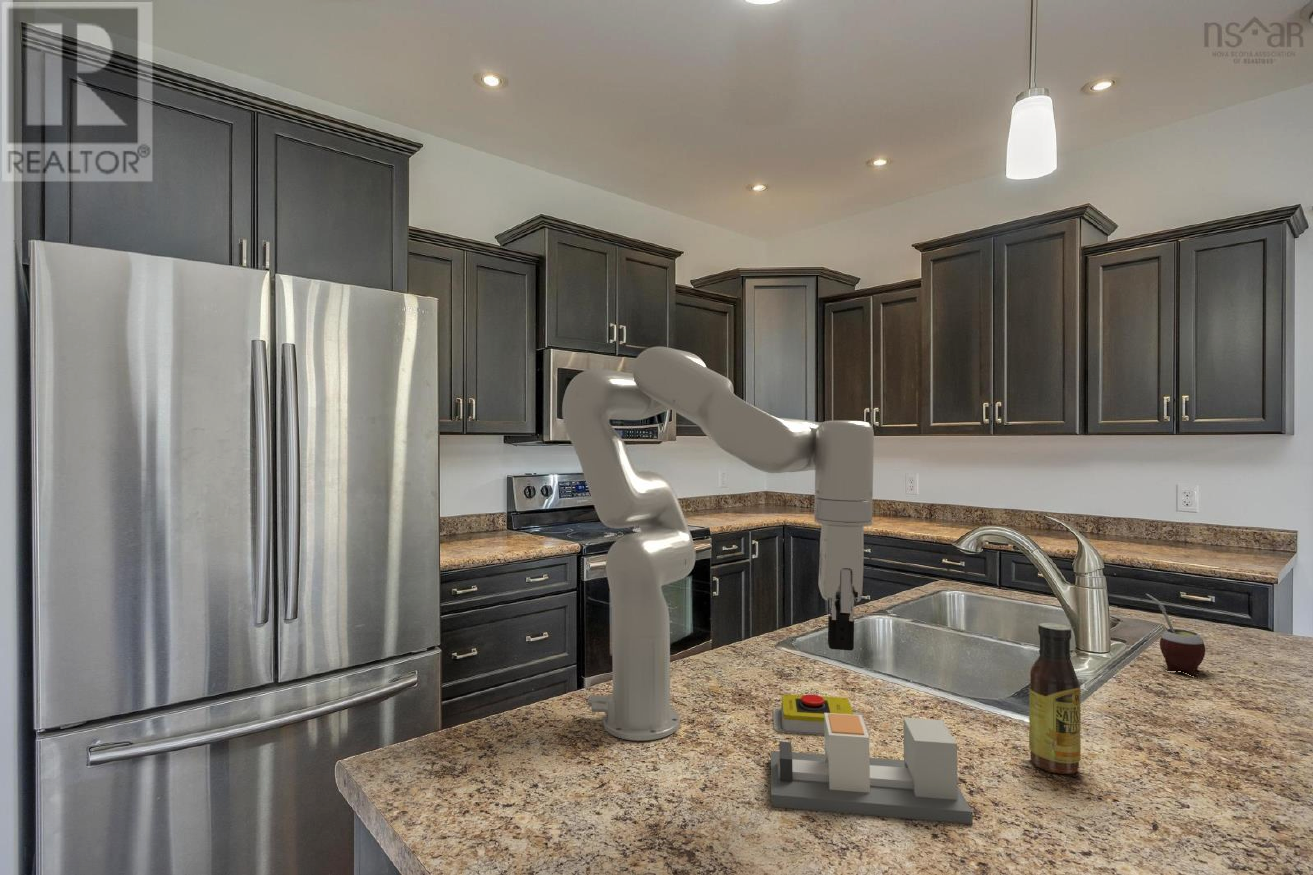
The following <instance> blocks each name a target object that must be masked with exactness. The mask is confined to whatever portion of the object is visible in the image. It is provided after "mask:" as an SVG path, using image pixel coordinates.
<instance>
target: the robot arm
mask: <svg viewBox="0 0 1313 875" xmlns="http://www.w3.org/2000/svg"><path fill="white" fill-rule="evenodd" d="M631 372H632V373H631ZM631 372H625V371H624V372H623V371H619V370H614V369H613V370H612V369H604V368H603V369H602V368H601V369H600V368H595V369H589V370H583V371H581V372H580V373H578V374H577V375H575V376H574V377H573V378H572V379H571V380H570V382H569V384H568V385H567V387H566V389H565V391H564V392H565V393H564V395H563V400H562V404H561V405H562V407H561V409H562V410H561V411H562V412H561V413H562V414H561V415H562V420H563V424H564V429H565V430H566V433H567V436H568V438H569V441H570V442H571V444H572V447H573V449H574V452H575V453H576V455H577V458H578V460H579V464H580V466H581V470H582V474H583V476H584V480H585V482H586V485H587V489H588V491H589V494H590V496H591V497H590V498H591V500H592V502H593V503H592V504H593V507H594V509H595V512H596V514H597V516H598V518H599V520H600V522H602V524H603V525H604V526H606V527H608V528H611V529H627V528H633V527H634V528H635V527H639V529H640V531H638V532H633V533H630V534H627V535H625V536H622V537H620V538H618V539H617V540H616V541H615V542H614V543H613V544H612V545H611V546H610V548H609V549H608V551H607V555H606V558H605V572H606V576H607V577H606V578H607V582H608V587H609V593H610V594H609V595H610V599H611V600H610V601H611V602H610V604H611V629H612V630H611V632H612V638H611V639H612V640H611V641H612V650H611V651H612V693H608V694H607V695H606V696H605V695H599V694H589V696H588V700H587V703H588V704H587V706H588V707H591V708H590V709H591V712H593V713H600V712H601V713H604V714H605V715H603V728H604V730H605V731H606V732H607V733H608V734H610V735H611V736H613V737H616V738H619V739H620V740H621V739H622V740H627V741H636V742H641V741H643V742H645V741H654V740H659V739H662V738H666V737H668V736H670V735H672V734H674V733H675V732H676V731H677V730H678V729H679V728H680V724H681V722H680V721H681V718H680V715H679V714H680V713H678V712H677V711H676V710H674V709H673V708H672V707H671V649H670V648H671V639H670V638H671V635H670V634H671V633H670V632H671V631H670V630H671V629H670V624H671V622H670V613H669V612H670V611H669V607H668V604H667V601H666V599H665V596H664V593H663V589H662V587H663V586H665V585H669V584H672V583H675V582H679V581H680V580H683V579H685V578H687V576H689V574H690V573H691V572H692V570H693V569H694V567H695V563H696V557H697V555H696V553H697V552H696V547H695V543H694V540H693V536H692V534H691V532H690V529H689V528H690V527H688V526H689V525H688V523H687V520H686V518H685V516H684V512H683V510H682V506H681V505H680V502H679V499H678V496H677V494H676V491H675V490H674V488H673V486H672V485H671V483H670V482H669V481H668V479H666V478H665V476H663V475H662V474H660V473H657V472H654V471H651V470H650V471H649V470H648V471H645V470H641V471H637V469H636V468H635V466H634V464H633V462H632V459H631V457H630V454H629V451H628V448H627V445H626V443H625V441H624V440H623V437H621V435H619V433H618V432H617V431H616V430H615V428H614V427H613V426H612V425H611V422H610V421H611V420H617V421H618V420H620V421H641V420H645V419H648V418H651V417H655V416H657V415H659V414H661V413H666V412H667V411H670V410H671V411H673V412H675V413H677V414H678V415H680V416H681V417H683V418H685V419H686V420H688V421H690V422H692V423H693V424H695V425H697V426H698V427H700V429H701V430H702V432H703V433H704V434H705V436H707V438H708V439H709V440H710V441H711V442H712V443H714V444H715V445H716V446H718V447H719V448H720V449H722V450H723V451H725V452H726V453H728V454H729V455H731V456H733V457H735V458H737V459H738V460H740V461H742V462H743V463H746V465H748V466H750V467H752V468H754V469H756V470H759V471H762V472H765V473H768V474H783V473H797V472H806V471H807V472H808V471H814V472H815V473H814V512H813V516H814V519H813V520H814V523H815V524H821V528H820V538H819V561H818V562H819V563H818V564H819V566H818V589H819V592H820V594H821V597H822V598H823V599H824V600H825V601H829V615H828V616H827V624H828V625H827V645H828V647H829V649H830V650H837V651H840V650H841V651H853V650H854V646H855V642H854V641H855V619H854V613H855V612H854V611H855V610H854V608H855V607H854V606H855V605H854V604H855V602H856V603H858V602H860V601H861V600H862V597H863V586H864V585H863V582H864V543H865V541H864V527H869V526H870V527H871V526H872V525H873V502H874V500H873V498H874V497H873V494H874V490H873V489H874V456H875V455H874V453H875V452H874V448H875V444H874V443H875V442H874V441H875V434H874V428H873V427H872V425H871V424H870V423H869V422H866V421H863V420H826V421H825V420H824V421H823V422H818V421H812V420H806V419H796V418H787V417H786V418H785V417H776V416H774V415H772V414H769V413H768V412H766V411H763V410H762V409H760V408H758V407H755V406H754V405H753V404H751V403H749V402H747V401H745V400H744V399H742V398H740V397H739V396H738V395H736V394H735V393H734V391H735V390H734V385H733V383H732V381H731V379H729V378H727V377H726V376H724V375H722V374H720V373H718V372H716V371H714V370H712V369H710V368H709V367H707V365H706V363H705V362H704V361H703V360H702V359H701V357H699V356H697V355H696V354H694V353H692V352H690V351H685V350H680V349H676V348H671V347H666V346H652V347H650V348H647V349H644V350H643V351H641V353H639V354H638V355H637V357H636V358H635V360H634V362H633V364H632V370H631Z"/></svg>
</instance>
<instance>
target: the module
mask: <svg viewBox="0 0 1313 875" xmlns="http://www.w3.org/2000/svg"><path fill="white" fill-rule="evenodd" d="M862 715H863V714H862ZM862 715H852V714H836V713H824V730H825V735H824V755H825V762H829V789H831V790H843V791H855V792H867V793H870V762H869V758H870V736H868V733H867V730H866V727H865V724H864V721H865V720H864V721H863V718H864V717H863V718H862Z"/></svg>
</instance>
